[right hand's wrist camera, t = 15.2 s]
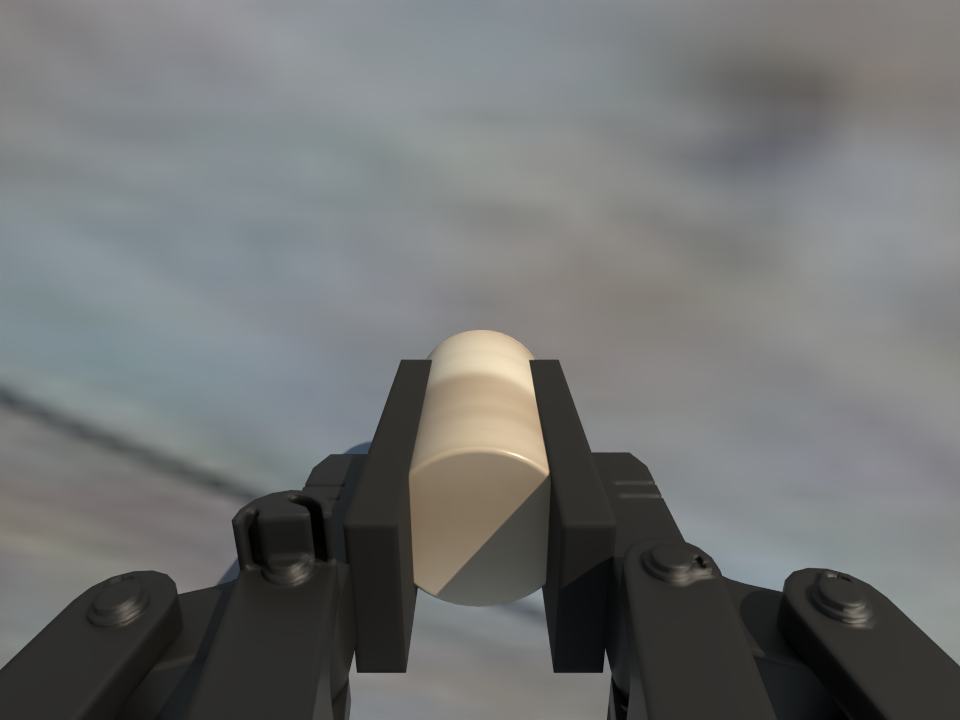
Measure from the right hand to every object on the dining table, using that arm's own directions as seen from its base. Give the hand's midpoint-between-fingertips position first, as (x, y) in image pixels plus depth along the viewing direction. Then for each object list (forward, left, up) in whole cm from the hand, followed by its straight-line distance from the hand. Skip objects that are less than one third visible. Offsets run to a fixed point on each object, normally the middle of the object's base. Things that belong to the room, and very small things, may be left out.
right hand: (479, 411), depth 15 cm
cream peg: (0, 0, -1) cm, 1 cm away
